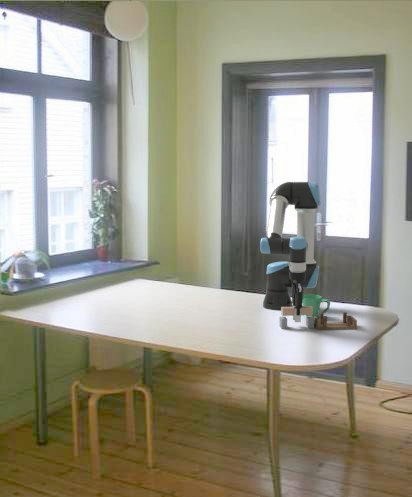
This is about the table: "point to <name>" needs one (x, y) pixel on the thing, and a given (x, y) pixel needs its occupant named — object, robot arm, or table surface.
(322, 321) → the rack
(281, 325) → the grey blocks
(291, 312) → the clay strip
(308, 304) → the mug
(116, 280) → the table surface
